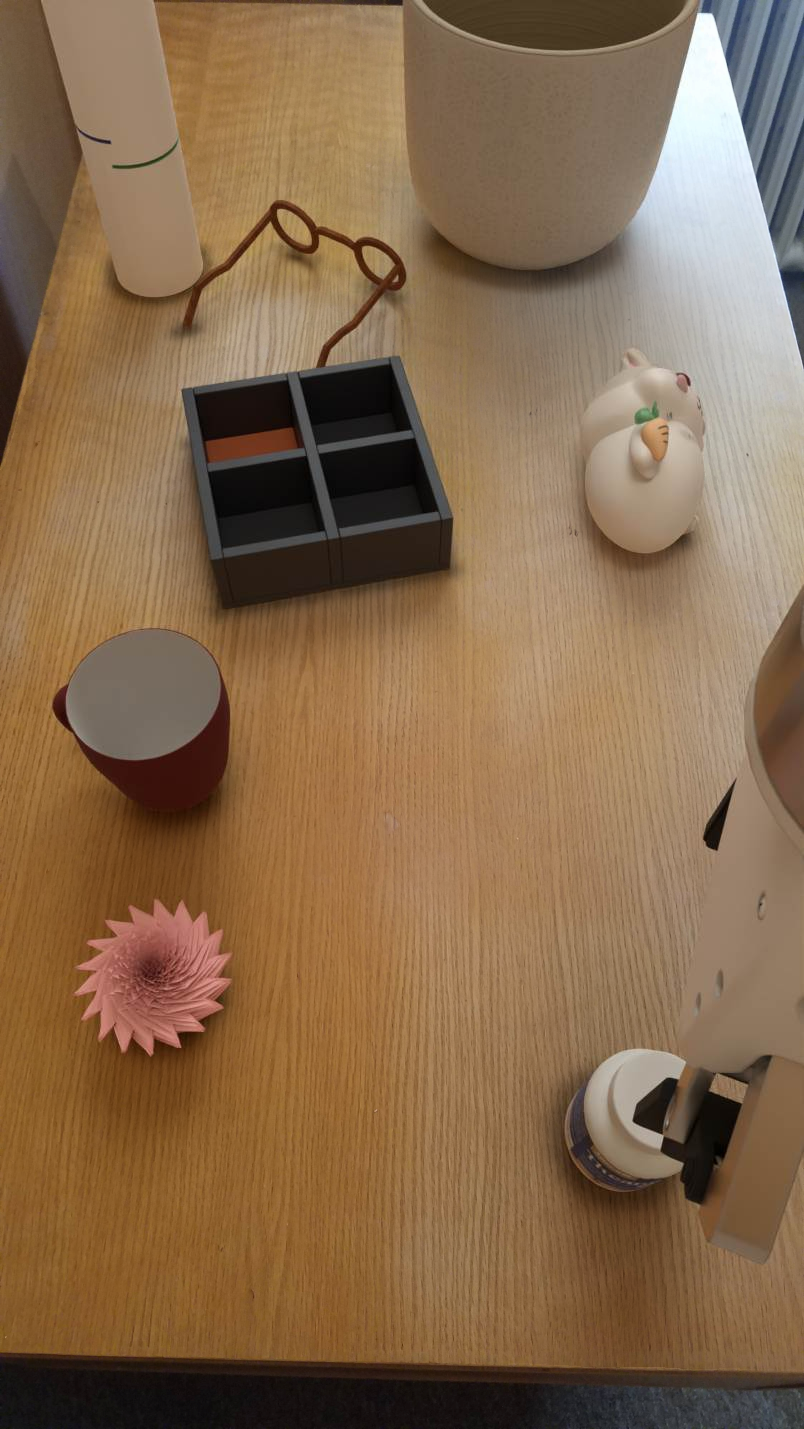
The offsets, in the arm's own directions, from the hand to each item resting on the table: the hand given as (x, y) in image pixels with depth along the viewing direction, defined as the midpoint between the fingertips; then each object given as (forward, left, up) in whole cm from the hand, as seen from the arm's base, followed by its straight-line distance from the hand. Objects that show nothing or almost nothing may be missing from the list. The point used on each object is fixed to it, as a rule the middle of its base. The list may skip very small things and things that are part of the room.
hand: (717, 982), depth 33 cm
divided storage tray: (+7, -42, -22) cm, 48 cm away
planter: (-16, -69, -22) cm, 74 cm away
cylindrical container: (+15, -70, -22) cm, 75 cm away
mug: (+20, -23, -22) cm, 37 cm away
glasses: (+5, -62, -22) cm, 66 cm away
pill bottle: (0, +2, -22) cm, 22 cm away
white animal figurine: (-15, -38, -22) cm, 47 cm away
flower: (+21, -10, -22) cm, 32 cm away
